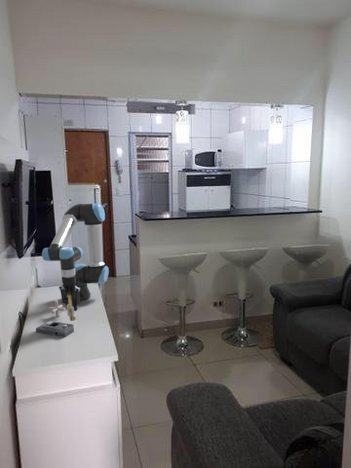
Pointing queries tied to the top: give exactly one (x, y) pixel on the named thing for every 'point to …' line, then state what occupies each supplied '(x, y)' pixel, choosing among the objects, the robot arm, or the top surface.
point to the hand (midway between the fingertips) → (72, 315)
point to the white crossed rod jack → (56, 308)
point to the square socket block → (56, 329)
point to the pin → (70, 307)
